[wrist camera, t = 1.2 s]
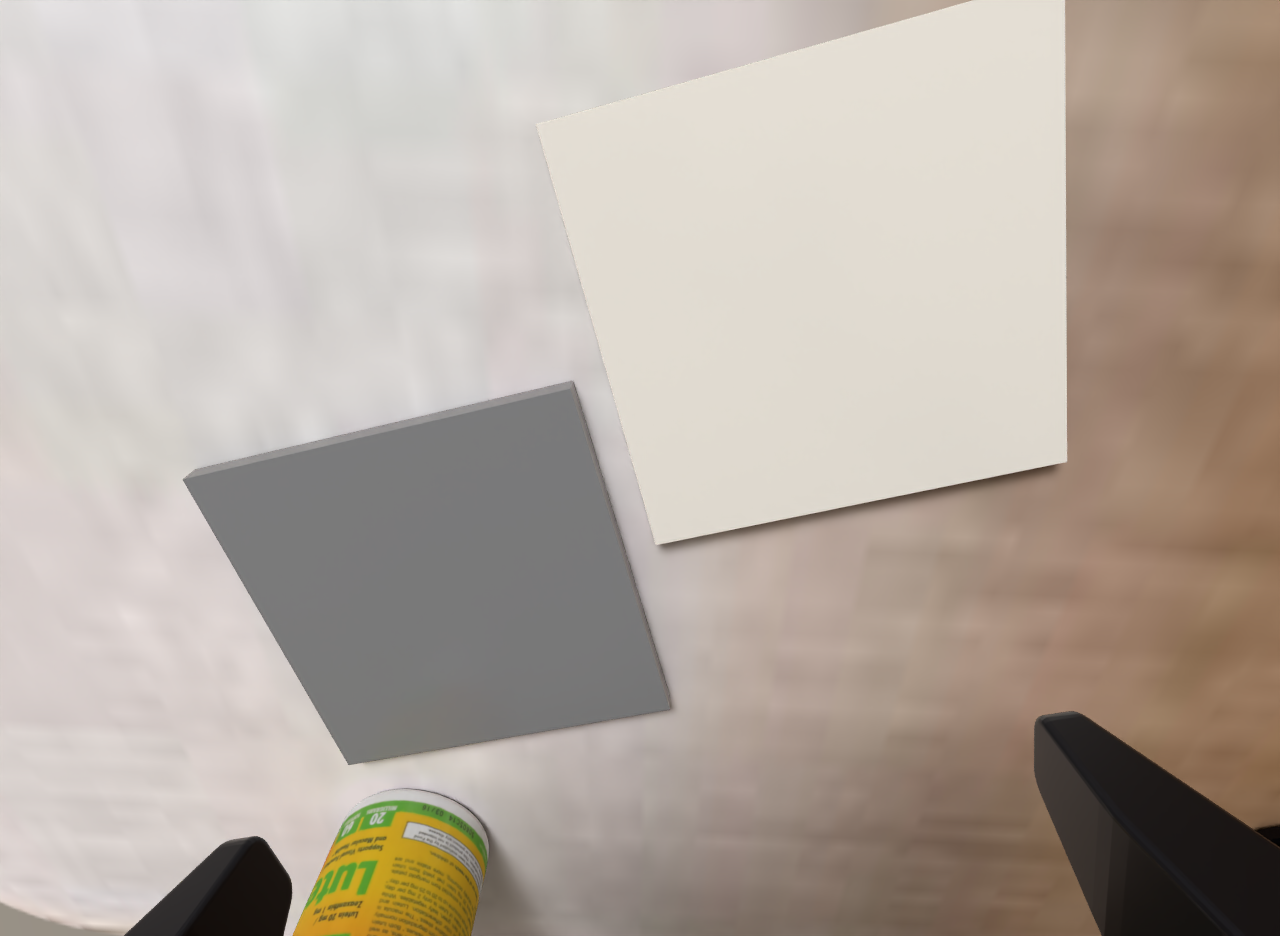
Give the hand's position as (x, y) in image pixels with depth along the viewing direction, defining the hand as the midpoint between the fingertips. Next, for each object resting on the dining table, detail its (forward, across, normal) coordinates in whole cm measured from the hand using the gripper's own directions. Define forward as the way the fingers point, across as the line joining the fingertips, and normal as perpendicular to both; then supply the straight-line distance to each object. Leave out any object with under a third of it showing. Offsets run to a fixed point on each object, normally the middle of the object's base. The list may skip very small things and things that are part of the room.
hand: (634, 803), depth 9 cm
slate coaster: (+12, +7, +5) cm, 15 cm away
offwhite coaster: (+12, -5, -2) cm, 13 cm away
